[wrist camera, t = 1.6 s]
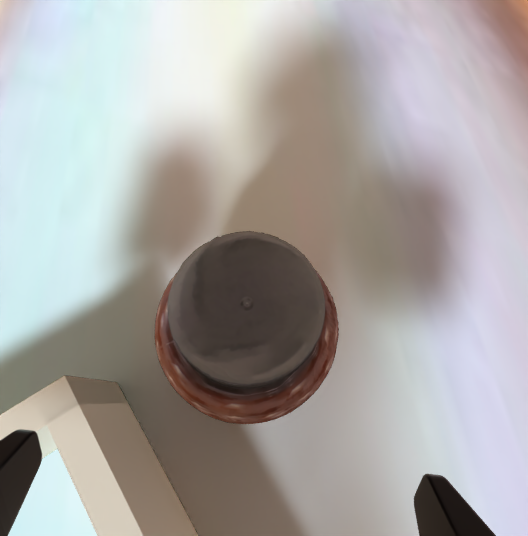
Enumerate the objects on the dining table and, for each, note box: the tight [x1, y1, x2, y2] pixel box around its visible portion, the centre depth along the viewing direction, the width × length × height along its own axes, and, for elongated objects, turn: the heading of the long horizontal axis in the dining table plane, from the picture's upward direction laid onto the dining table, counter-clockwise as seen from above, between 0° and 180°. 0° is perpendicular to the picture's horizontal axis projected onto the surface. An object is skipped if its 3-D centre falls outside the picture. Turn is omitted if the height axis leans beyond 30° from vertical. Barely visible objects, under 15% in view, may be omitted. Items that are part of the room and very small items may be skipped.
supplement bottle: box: [155, 231, 339, 424], centre depth 15 cm, size 6×6×11 cm
